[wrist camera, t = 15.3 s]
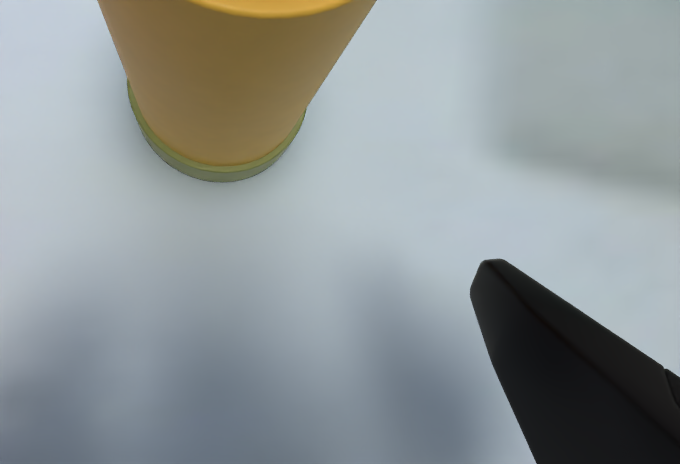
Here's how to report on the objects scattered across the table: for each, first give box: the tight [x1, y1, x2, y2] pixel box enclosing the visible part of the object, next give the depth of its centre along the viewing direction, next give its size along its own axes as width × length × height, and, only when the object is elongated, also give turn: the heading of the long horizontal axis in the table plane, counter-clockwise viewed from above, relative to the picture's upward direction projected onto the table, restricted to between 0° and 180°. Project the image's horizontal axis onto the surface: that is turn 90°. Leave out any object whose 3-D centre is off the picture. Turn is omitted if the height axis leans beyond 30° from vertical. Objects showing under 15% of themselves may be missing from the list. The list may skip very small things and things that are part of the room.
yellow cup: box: [97, 0, 377, 182], centre depth 11 cm, size 5×5×14 cm
